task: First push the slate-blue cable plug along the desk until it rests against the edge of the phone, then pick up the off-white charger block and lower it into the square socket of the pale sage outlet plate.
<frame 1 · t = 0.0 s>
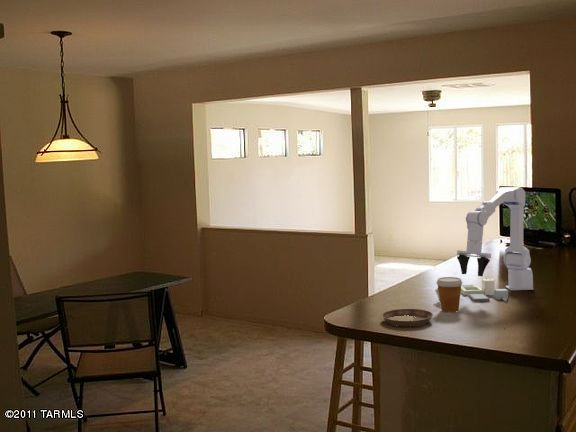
hand: (471, 275, 239), 11 cm above the table, tool pointing down, fingers open, 7 cm apart
charger: (488, 293, 252), on the table
plant saucer: (407, 323, 214), on the table
cable plug: (501, 298, 242), on the table
cupcake: (447, 302, 241), on the table
outlet plate: (470, 292, 256), on the table
disposable coffee cup: (450, 311, 227), on the table
phone: (478, 299, 242), on the table
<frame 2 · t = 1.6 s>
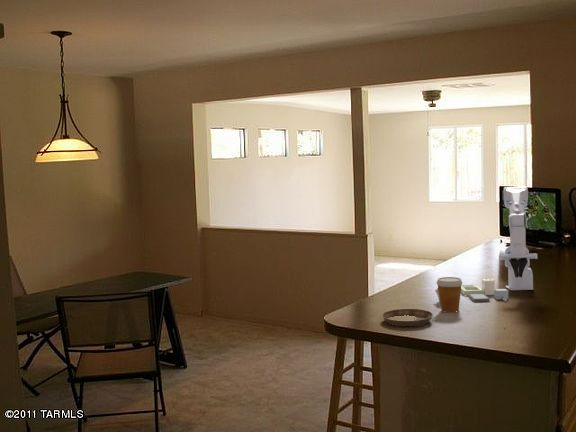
hand: (518, 277, 241), 8 cm above the table, tool pointing down, fingers closed
nothing on the table moved.
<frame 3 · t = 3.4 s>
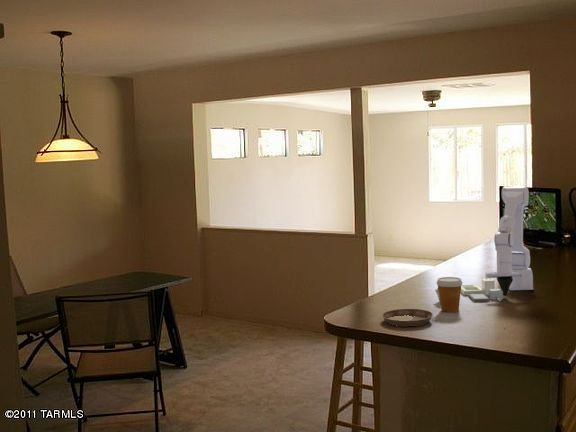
hand: (504, 295, 242), 1 cm above the table, tool pointing down, fingers closed
cable plug: (495, 298, 243), on the table, touching gripper
everything else where it was.
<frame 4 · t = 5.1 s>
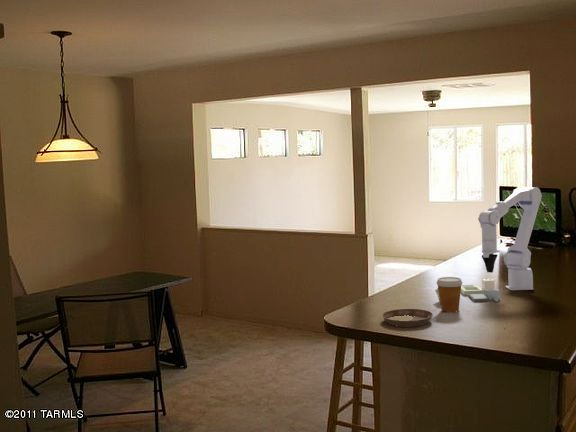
hand: (490, 272, 250), 9 cm above the table, tool pointing down, fingers closed
cable plug: (492, 298, 243), on the table
everything else where it was.
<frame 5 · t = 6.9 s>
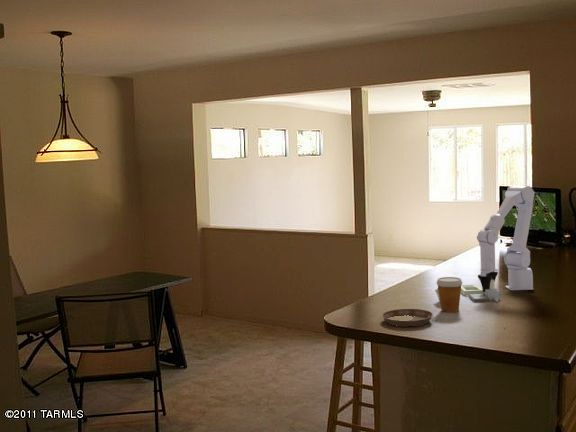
hand: (488, 290, 251), 1 cm above the table, tool pointing down, fingers open, 6 cm apart
nothing on the table moved.
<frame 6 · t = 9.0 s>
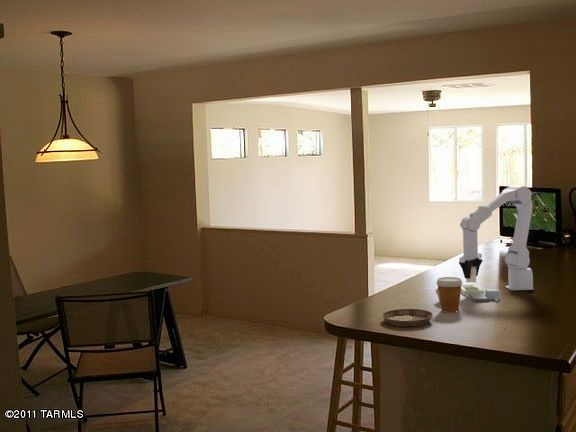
hand: (471, 277, 253), 7 cm above the table, tool pointing down, fingers closed on charger, 5 cm apart
charger: (471, 281, 253), point 5 cm above the table, touching gripper
everything else where it was.
when the fingers open (3 cm above the table, at t = 10.2 s): charger stays where it is, resting in outlet plate.
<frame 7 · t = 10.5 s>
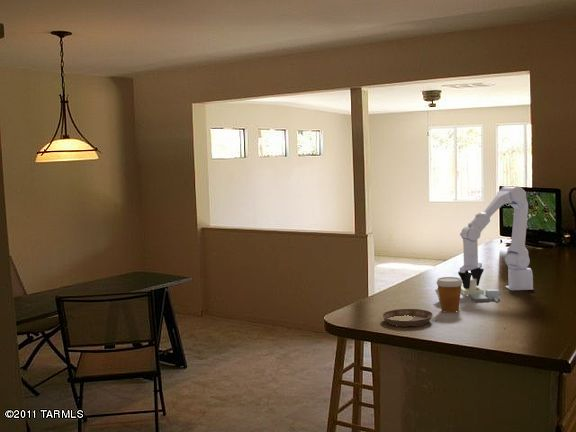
hand: (471, 287, 254), 3 cm above the table, tool pointing down, fingers open, 7 cm apart
charger: (471, 293, 254), resting in outlet plate
everything else where it was.
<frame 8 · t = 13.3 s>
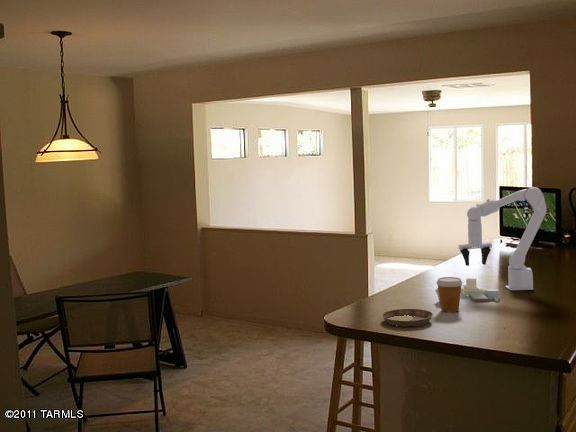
hand: (475, 264, 265), 10 cm above the table, tool pointing down, fingers open, 7 cm apart
nothing on the table moved.
at the end: charger 0.0 cm from the target spot on the outlet plate, point 0.0 cm above the outlet plate's base; charger tilted 0°; cable plug 0.1 cm from the target spot, on the table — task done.
